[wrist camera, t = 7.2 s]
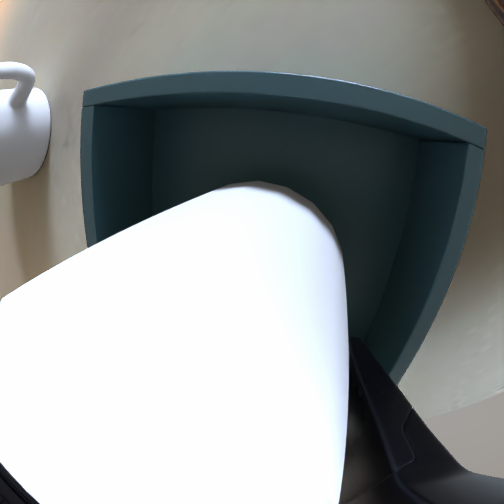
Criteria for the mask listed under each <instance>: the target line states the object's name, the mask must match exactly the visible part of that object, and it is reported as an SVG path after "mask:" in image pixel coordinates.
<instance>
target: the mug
mask: <svg viewBox="0 0 504 504" xmlns="http://www.w3.org/2000/svg"><path fill="white" fill-rule="evenodd" d="M0 79H14V80H17V81H18V84H17V86H16V88H15V89H7V90H0V186H3V185H6V184H9V183H12V182H16V181H19V180H23V179H26V178H29V177H31V176H33V175H34V174H35V173H36V172H37V171H38V170H39V168H40V167H41V165H42V163H43V161H44V159H45V156H46V153H47V149H48V144H49V138H50V128H51V117H50V108H49V103H48V100H47V98H46V96H45V94H44V93H43V92H42V91H41V90H40V89H37V88H33V86H34V83H35V74H34V72H33V70H32V69H31V68H30V67H28V66H27V65H24V64H21V63H16V62H0Z"/></svg>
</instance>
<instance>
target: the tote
mask: <svg viewBox="0 0 504 504" xmlns="http://www.w3.org/2000/svg"><path fill="white" fill-rule="evenodd" d="M83 107H84V108H82V118H81V147H80V159H81V189H82V203H83V214H84V224H85V232H86V240H87V247H88V248H89V247H91V246H93V245H95V244H97V243H99V242H101V241H103V240H105V239H107V238H109V237H111V236H113V235H115V234H117V233H119V232H121V231H123V230H125V229H127V228H129V227H131V226H133V225H136V224H138V223H140V222H142V221H144V220H146V219H148V218H151V217H153V216H155V215H157V214H159V213H162V212H164V211H166V210H168V209H171V208H173V207H175V206H178V205H180V204H182V203H185V202H187V201H189V200H192V199H194V198H196V197H199V196H201V195H204V194H206V193H209V192H211V191H214V190H216V189H219V188H221V187H224V186H226V185H229V184H234V183H242V182H251V181H262V182H266V183H271V184H275V185H280V186H284V187H288V188H289V189H291V190H293V191H294V192H296V193H298V194H299V195H301V196H303V197H304V198H306V199H307V200H309V201H311V202H312V203H314V204H315V206H316V207H317V208H318V209H319V210H320V212H321V213H322V214H323V215H324V216H325V218H326V219H327V220H328V221H329V222H330V224H331V225H332V226H333V229H334V231H335V234H336V236H337V239H338V242H339V244H340V247H341V250H342V253H343V263H344V274H345V286H346V300H347V318H348V336H355V337H360V338H361V339H362V341H363V342H364V343H365V345H366V346H367V347H368V348H369V350H370V351H371V352H372V354H373V355H374V356H375V358H376V359H377V360H378V362H379V363H380V364H381V365H382V367H383V368H384V369H385V371H386V372H387V373H388V375H389V376H390V377H391V379H392V380H393V381H394V383H395V384H396V385H397V384H398V383H399V381H400V379H401V378H402V376H403V375H404V373H405V372H406V370H407V368H408V367H409V365H410V363H411V362H412V360H413V358H414V357H415V355H416V353H417V351H418V350H419V348H420V346H421V344H422V342H423V341H424V339H425V337H426V335H427V333H428V331H429V329H430V327H431V325H432V323H433V321H434V319H435V317H436V315H437V313H438V311H439V309H440V306H441V304H442V302H443V300H444V297H445V295H446V293H447V290H448V288H449V285H450V283H451V281H452V278H453V275H454V273H455V270H456V267H457V265H458V262H459V259H460V256H461V253H462V250H463V247H464V244H465V241H466V237H467V234H468V231H469V227H470V224H471V220H472V216H473V212H474V208H475V204H476V199H477V195H478V190H479V185H480V179H481V174H482V167H483V161H484V153H485V152H484V150H483V149H485V147H486V137H487V129H486V128H485V127H483V126H481V125H479V124H477V123H475V122H472V121H470V120H468V119H466V118H464V117H461V116H459V115H457V114H454V113H452V112H450V111H447V110H445V109H442V108H439V107H437V106H434V105H431V104H429V103H426V102H423V101H420V100H417V99H414V98H411V97H408V96H404V95H401V94H398V93H394V92H390V91H387V90H383V89H379V88H375V87H371V86H367V85H362V84H357V83H353V82H348V81H342V80H337V79H331V78H324V77H317V76H310V75H301V74H292V73H280V72H264V71H207V72H190V73H179V74H169V75H161V76H153V77H147V78H140V79H134V80H129V81H124V82H119V83H114V84H109V85H105V86H101V87H97V88H93V89H89V90H85V91H84V95H83Z"/></svg>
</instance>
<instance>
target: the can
mask: <svg viewBox="0 0 504 504" xmlns="http://www.w3.org/2000/svg"><path fill="white" fill-rule="evenodd" d="M348 390H349V347H348V318H347V300H346V286H345V274H344V263H343V253H342V250H341V247H340V244H339V242H338V239H337V236H336V234H335V231H334V229H333V226H332V225H331V224H330V222H329V221H328V220H327V219H326V218H325V216H324V215H323V214H322V213H321V212H320V210H319V209H318V208H317V207H316V206H315V204H314V203H312V202H311V201H309V200H307V199H306V198H304V197H303V196H301V195H299V194H298V193H296V192H294V191H293V190H291V189H289V188H288V187H284V186H280V185H275V184H271V183H266V182H262V181H251V182H242V183H234V184H229V185H226V186H224V187H221V188H219V189H216V190H214V191H211V192H209V193H206V194H204V195H201V196H199V197H196V198H194V199H192V200H189V201H187V202H185V203H182V204H180V205H178V206H175V207H173V208H171V209H168V210H166V211H164V212H162V213H159V214H157V215H155V216H153V217H151V218H148V219H146V220H144V221H142V222H140V223H138V224H136V225H133V226H131V227H129V228H127V229H125V230H123V231H121V232H119V233H117V234H115V235H113V236H111V237H109V238H107V239H105V240H103V241H101V242H99V243H97V244H95V245H93V246H91V247H89V248H87V249H86V250H84V251H82V252H80V253H78V254H76V255H74V256H73V257H71V258H69V259H67V260H65V261H63V262H62V263H60V264H58V265H56V266H55V267H53V268H51V269H49V270H48V271H46V272H44V273H42V274H41V275H39V276H37V277H36V278H34V279H32V280H31V281H29V282H27V283H26V284H24V285H23V286H21V287H19V288H18V289H16V290H15V291H13V292H11V293H10V294H8V295H7V296H5V297H4V298H3V299H2V300H1V301H0V462H1V463H2V464H3V466H4V467H5V468H6V469H7V470H8V471H9V473H10V474H11V475H12V476H13V477H14V478H15V479H16V480H17V481H18V482H19V483H20V484H21V486H22V487H23V488H24V489H25V490H26V491H27V492H28V493H29V494H30V495H31V496H33V497H34V498H35V499H36V500H37V501H38V502H39V503H40V504H339V497H340V491H341V483H342V476H343V467H344V458H345V447H346V434H347V417H348Z"/></svg>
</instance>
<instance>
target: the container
mask: <svg viewBox="0 0 504 504" xmlns="http://www.w3.org/2000/svg"><path fill="white" fill-rule="evenodd" d="M485 1H486V2H487V4H488V5H489V6H490V8H491V9H492V11H493V12H494V13H495V15H496V16H497V17H498V18H499V20H500V21H501V22H502V23H503V25H504V0H485Z"/></svg>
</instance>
